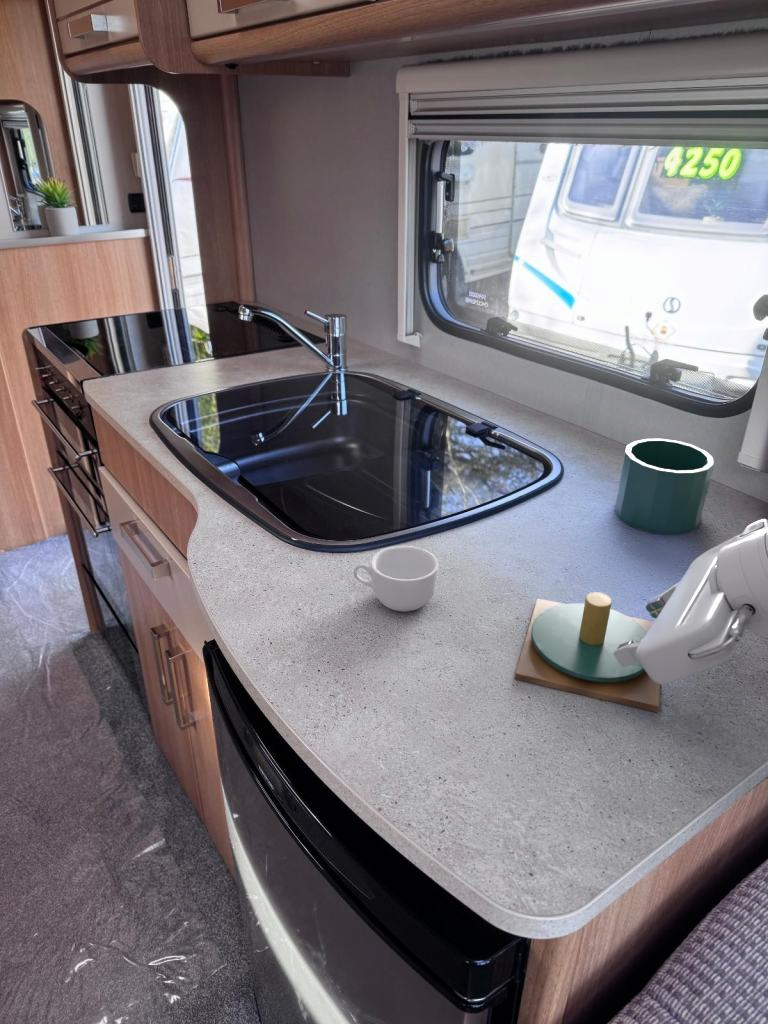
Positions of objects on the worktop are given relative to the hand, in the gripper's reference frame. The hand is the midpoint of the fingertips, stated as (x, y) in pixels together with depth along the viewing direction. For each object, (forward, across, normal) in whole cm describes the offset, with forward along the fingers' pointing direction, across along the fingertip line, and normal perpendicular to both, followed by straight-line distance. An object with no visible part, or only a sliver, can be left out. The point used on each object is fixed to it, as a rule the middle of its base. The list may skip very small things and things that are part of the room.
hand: (635, 631), depth 74 cm
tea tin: (+9, +35, +2) cm, 36 cm away
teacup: (+22, -5, +16) cm, 27 cm away
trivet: (+6, 0, 0) cm, 6 cm away
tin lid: (+5, 0, +1) cm, 5 cm away
